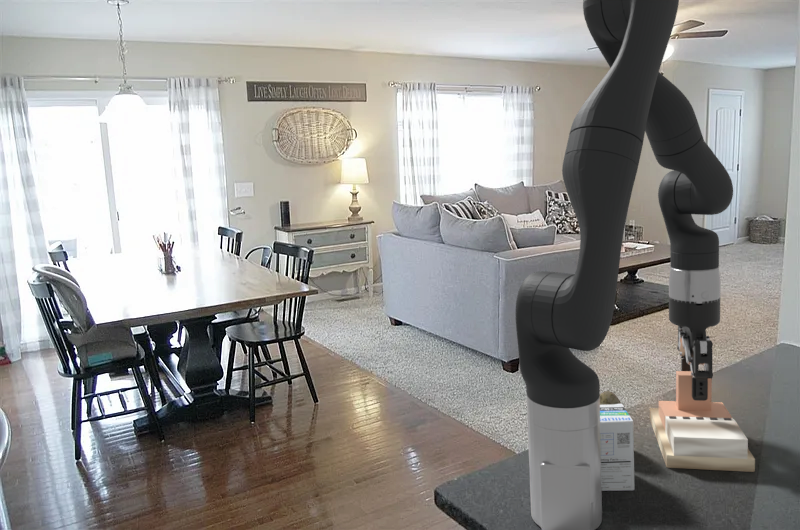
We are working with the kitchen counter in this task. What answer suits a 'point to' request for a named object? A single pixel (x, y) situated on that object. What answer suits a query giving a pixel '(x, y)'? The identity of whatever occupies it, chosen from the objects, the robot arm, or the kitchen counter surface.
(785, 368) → the kitchen counter surface
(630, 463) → the light bulb box
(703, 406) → the stub
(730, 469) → the pad
